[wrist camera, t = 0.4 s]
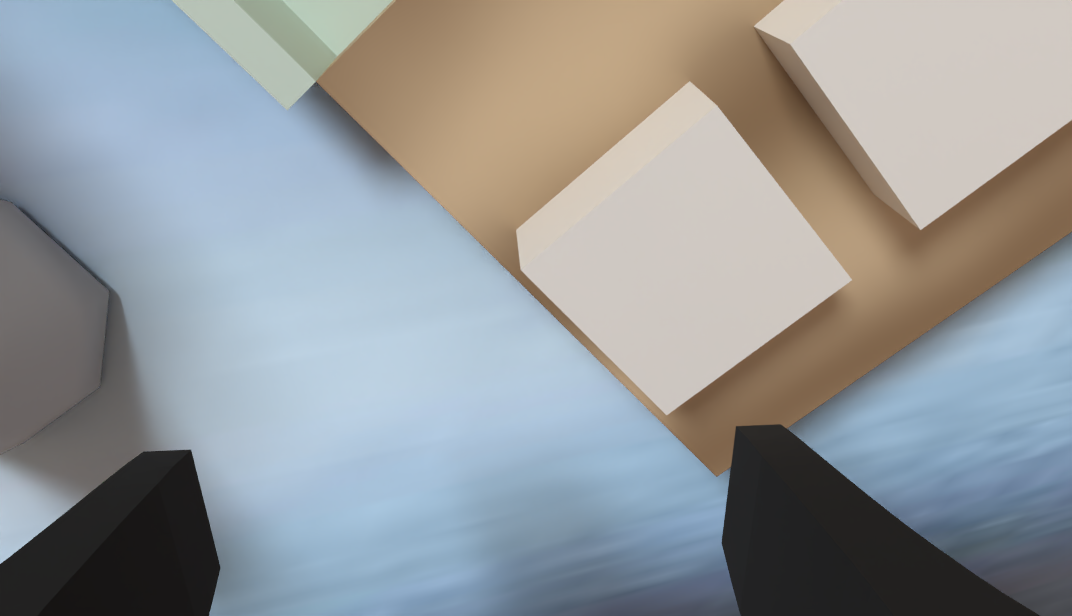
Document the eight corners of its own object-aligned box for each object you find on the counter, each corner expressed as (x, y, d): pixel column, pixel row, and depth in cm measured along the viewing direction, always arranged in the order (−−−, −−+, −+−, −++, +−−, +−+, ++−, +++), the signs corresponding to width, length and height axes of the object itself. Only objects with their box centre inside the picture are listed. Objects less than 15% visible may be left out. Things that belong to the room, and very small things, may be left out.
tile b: (1072, 44, 16) (1148, 64, 14) (873, 194, 17) (920, 230, 15) (966, -156, 14) (1037, -163, 12) (753, 26, 15) (790, 44, 13)
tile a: (814, 240, 17) (852, 280, 15) (648, 365, 18) (666, 415, 17) (689, 80, 16) (716, 105, 14) (516, 229, 17) (520, 270, 15)
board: (1083, 121, 20) (1178, 158, 17) (688, 408, 23) (716, 477, 20) (794, -406, 15) (864, -473, 12) (340, 53, 18) (315, 81, 15)
